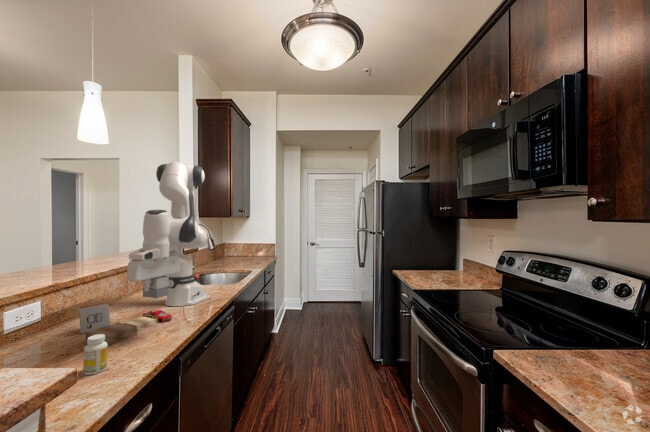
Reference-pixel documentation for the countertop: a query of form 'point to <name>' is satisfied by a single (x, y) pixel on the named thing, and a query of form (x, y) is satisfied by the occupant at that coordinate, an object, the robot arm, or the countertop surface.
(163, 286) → the housing
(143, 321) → the oak riser
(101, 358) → the supplement bottle
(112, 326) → the walnut stand
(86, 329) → the electrical switch
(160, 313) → the race car
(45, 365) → the countertop surface
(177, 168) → the robot arm
